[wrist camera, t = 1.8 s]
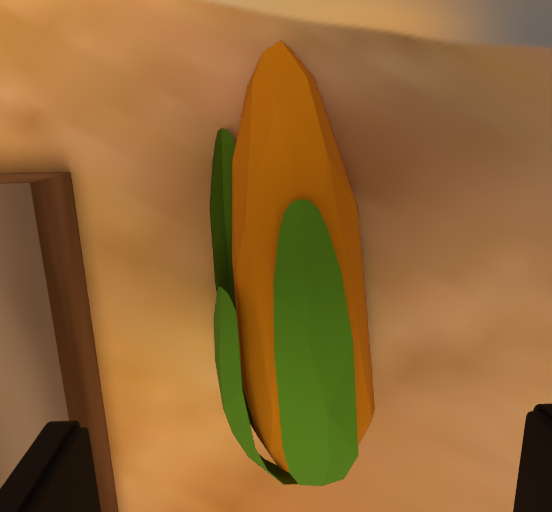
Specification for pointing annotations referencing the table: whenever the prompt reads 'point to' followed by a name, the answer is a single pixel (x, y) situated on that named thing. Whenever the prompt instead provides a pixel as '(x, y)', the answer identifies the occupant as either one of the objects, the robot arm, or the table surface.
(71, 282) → the board
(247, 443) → the corn
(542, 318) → the table surface
